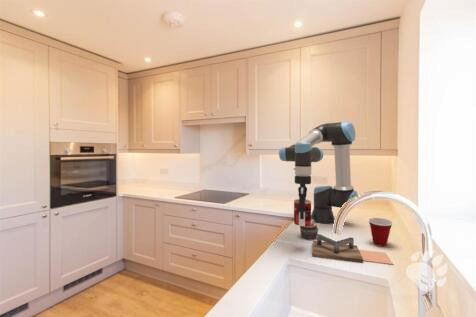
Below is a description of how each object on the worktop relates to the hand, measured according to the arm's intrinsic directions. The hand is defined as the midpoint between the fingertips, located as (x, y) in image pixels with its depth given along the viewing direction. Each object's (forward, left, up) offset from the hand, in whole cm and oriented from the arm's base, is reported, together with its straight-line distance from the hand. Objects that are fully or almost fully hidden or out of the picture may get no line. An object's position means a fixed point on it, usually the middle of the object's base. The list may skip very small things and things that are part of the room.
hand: (302, 223), depth 115 cm
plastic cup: (-18, +37, -12) cm, 43 cm away
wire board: (0, +15, -12) cm, 19 cm away
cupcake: (-17, +3, -12) cm, 21 cm away
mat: (0, +31, -12) cm, 33 cm away
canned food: (0, 0, 0) cm, 0 cm away
